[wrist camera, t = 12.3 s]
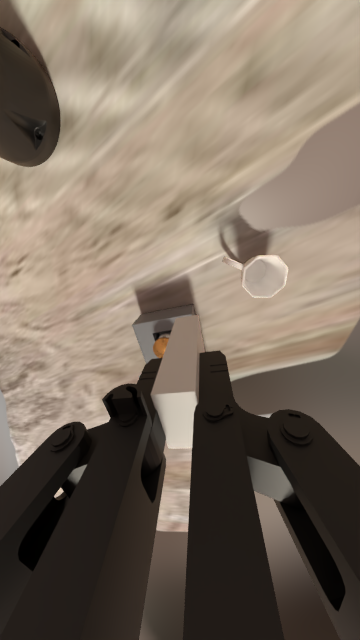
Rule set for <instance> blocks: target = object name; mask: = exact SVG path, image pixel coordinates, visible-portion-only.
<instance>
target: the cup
mask: <svg viewBox="0 0 360 640" xmlns="http://www.w3.org/2000/svg"><path fill="white" fill-rule="evenodd" d="M223 262H225V263H226V264H229V265H231V266H233V267H235V268H238V269H240V270H241V282H242V286H243V288H244V289H245V290H246V291H247V292H248V293H249V294H250V295H251V296H252V297H253V298H271V297H272V296H273V295H275V294H276V293H277V292H278V291H280V290H281V289H282V288H283V287H285V285H286V279H287V274H288V269H289V268H288V267H287V266H286V264H285V263H284V262H283V261H282V260H281V259H280V257H279V256H278V255H258V256H255V257H252V258H251V259H249V260H247V261H246V262H245V263H244V264H242V263H239V262H237V261H234V260H232V259H229V258H227V257H224V258H223Z"/></svg>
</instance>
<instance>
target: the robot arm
mask: <svg viewBox="0 0 360 640" xmlns="http://www.w3.org/2000/svg"><path fill="white" fill-rule="evenodd" d="M59 132H60V112H59V106H58V101H57V97H56V94H55V91H54V88H53V86H52V83H51V81H50V79H49V77H48V75H47V73H46V72H45V70H44V68H43V67H42V65H41V64H40V63H39V61H38V60H37V59H36V58H35V57H34V56H33V55H32V54H31V52H30V51H29V50H28V49H27V48H26V47H25V46H24V45H23V44H22V43H21V42H20V41H19V40H18V39H17V38H15V37H14V36H13V35H12V34H10V33H9V32H7V31H6V30H4V29H2V28H0V157H1V158H3V159H5V160H7V161H10V162H12V163H15V164H17V165H20V166H25V167H33V166H37V165H40V164H42V163H43V162H45V161H46V160H47V159H48V158H49V157H50V156H51V154H52V153H53V151H54V149H55V147H56V145H57V142H58V138H59ZM102 400H103V403H104V405H105V407H106V409H107V411H108V413H109V415H110V417H111V418H110V420H109V422H107V423H105V424H102V425H100V426H97V427H94V428H91V429H88V430H87V429H86V427H85V426H84V424H82V423H81V422H72V423H69V424H66V425H64V426H62V427H61V428H59V429H57V430H56V431H55V432H54V433H53V434H51V435H50V436H49V437H48V438H47V439H46V440H45V441H44V442H43V443H42V444H41V445H40V446H39V447H38V448H37V450H36V451H35V452H34V453H33V454H32V455H31V456H30V457H29V458H28V459H27V460H26V461H25V462H24V463H23V464H22V465H21V466H20V467H19V468H18V469H17V470H16V471H15V472H14V473H13V474H12V475H11V476H10V477H9V478H8V479H7V480H6V481H5V482H4V483H3V485H1V486H0V640H139V635H140V628H141V621H142V615H143V609H144V603H145V596H146V589H147V583H148V577H149V571H150V563H151V558H152V551H153V544H154V538H155V532H156V526H157V519H158V513H159V506H160V500H161V494H162V487H163V481H164V474H165V468H166V458H165V455H164V453H163V452H164V446H165V440H166V442H167V445H168V448H169V449H177V448H192V464H191V485H190V505H189V526H188V548H187V568H186V589H185V611H184V632H183V640H284V636H283V632H282V626H281V621H280V616H279V612H278V607H277V602H276V597H275V592H274V587H273V582H272V578H271V572H270V567H269V563H268V558H267V553H266V548H265V543H264V539H263V533H262V528H261V523H260V519H259V514H258V509H257V504H256V499H255V494H254V491H256V492H258V493H260V494H263V495H265V496H268V497H270V498H273V499H274V501H275V503H276V505H277V507H278V510H279V512H280V514H281V516H282V518H283V520H284V522H285V524H286V526H287V528H288V530H289V533H290V535H291V537H292V539H293V541H294V543H295V545H296V547H297V549H298V552H299V554H300V556H301V558H302V560H303V562H304V564H305V566H306V568H307V570H308V573H309V575H310V577H311V579H312V581H313V583H314V585H315V587H316V589H317V591H318V593H319V595H320V598H321V600H322V602H323V604H324V606H325V608H326V610H327V612H328V615H329V616H330V619H331V621H332V623H333V625H334V627H335V629H336V631H337V633H338V636H339V638H340V640H360V466H359V465H358V464H357V463H356V462H355V461H354V460H353V459H352V458H351V457H350V455H349V454H348V453H347V452H346V451H345V450H344V449H343V448H342V447H341V446H340V445H339V444H338V443H337V442H336V441H335V440H334V438H333V437H332V436H331V435H330V434H329V433H328V432H327V431H326V430H325V429H324V428H323V427H322V426H321V425H320V424H319V423H318V422H316V421H315V420H314V419H313V418H311V417H310V416H308V415H306V414H304V413H301V412H299V411H294V410H289V409H288V410H279V411H277V412H275V413H273V414H272V415H271V416H270V418H266V417H261V416H257V415H254V414H250V413H248V412H246V411H245V410H243V409H241V408H240V407H239V406H238V404H237V403H236V402H235V399H234V397H233V392H232V387H231V382H230V377H229V372H228V367H227V362H226V357H225V355H224V354H223V353H222V352H221V351H212V352H205V349H204V343H203V337H202V332H201V326H200V320H199V315H194V316H187V317H180V318H176V319H175V322H174V325H173V328H172V331H171V334H170V337H169V340H168V343H167V346H166V349H165V352H164V355H163V358H156V359H151V360H150V361H149V362H148V363H147V364H146V365H145V367H144V369H143V371H142V374H141V375H140V378H139V380H138V382H137V384H124V385H121V386H118V387H116V388H114V389H113V390H111V391H110V392H109V393H107V395H106V396H105V397H104V398H103V399H102ZM60 487H61V488H62V489H63V491H64V492H63V493H62V494H61V495H60V496H58V497H56V498H55V497H54V495H55V494H56V493H57V491H58V490H59V489H60Z"/></svg>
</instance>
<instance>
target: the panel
mask: <svg viewBox="0 0 360 640" xmlns="http://www.w3.org/2000/svg"><path fill="white" fill-rule="evenodd" d="M194 315H195V311H194V306H193V304H191V305H186V306H181V307H176V308H171V309H165V310H160V311H155V312H150V313H145V314H141V315H140V316H139V318H138V319H137V320H136V321H135V322H134V323H133V325H132V326H133V329H134V332H135V334H136V337H137V340H138V343H139V345H140V348H141V351H142V354H143V356H144V359H145V362H146V364H147V363H148V362H149V361H150V360H151V359H156V358H158V357H157V356H156V355H155V354H154V352H153V345H154V343H155V341H156V340H157V339H158V338H159V336H160V334H161V332H163V331H169V330H172V328H173V325H174V322H175V319H176V318H180V317H187V316H194Z"/></svg>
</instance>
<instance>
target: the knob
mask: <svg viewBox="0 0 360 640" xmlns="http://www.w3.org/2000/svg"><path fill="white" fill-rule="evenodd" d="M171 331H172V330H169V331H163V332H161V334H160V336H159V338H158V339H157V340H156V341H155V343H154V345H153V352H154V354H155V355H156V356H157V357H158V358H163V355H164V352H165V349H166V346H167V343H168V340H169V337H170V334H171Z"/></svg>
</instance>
